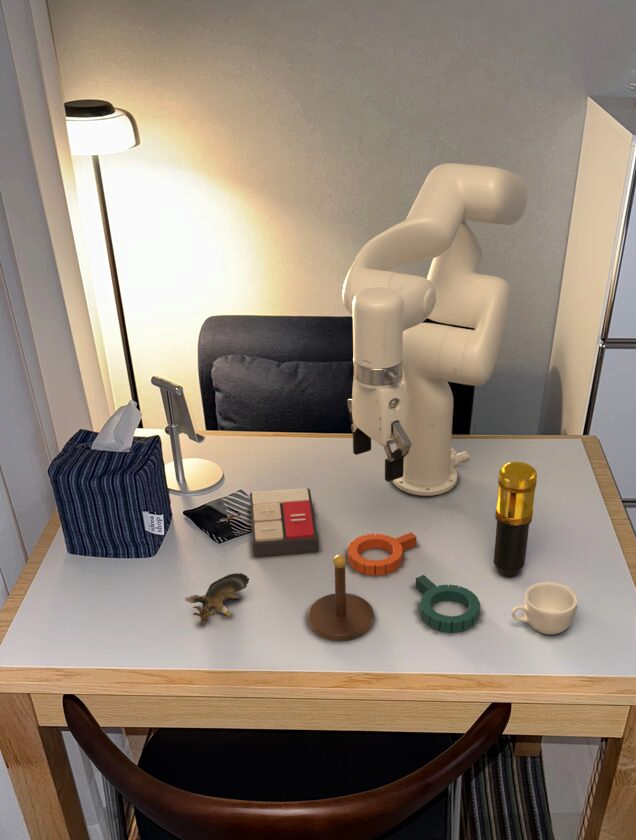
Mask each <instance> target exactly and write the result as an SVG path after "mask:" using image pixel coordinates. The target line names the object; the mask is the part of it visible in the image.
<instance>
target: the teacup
mask: <svg viewBox="0 0 636 840" xmlns="http://www.w3.org/2000/svg"><path fill="white" fill-rule="evenodd" d="M578 602H579V599H578V594H577V593H576V592H575V591H574V590H573V589H572V588H571V587H569V586H568V585H565V584H563V583H559V582H555V581H540V582H536V583H534V584H532V585H530V586H529V587H528V588H527V589H526V591H525V592H524V604H520V605H516V606H514V607H513V608H512V609H511V611H510V612H511V613H510V614H511V617H512V618H513V619H514V620H516V621H519V622H523V623H524V622H525V623H528V624H529V625H530V626H531V628H533V630H535V631H537V632H539V633H541V634H545V635H557V634H561V633H564V632H565V631H566V630H567V629H568V628H569V627H571V624H572V623H573V621H574V618H575V616H576V612H577V607H578ZM518 610H522V611H523V612H524V615H523V616H517V615H515V613H516V612H517V611H518Z"/></svg>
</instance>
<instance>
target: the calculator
mask: <svg viewBox="0 0 636 840" xmlns="http://www.w3.org/2000/svg"><path fill="white" fill-rule="evenodd" d="M249 503H250V504H249V506H250V518H251V519H250V521H251V537H252V551H253V557H255V558H259V557H260V558H261V557H272V556H284V555H294V554H296V555H297V554H306V553H307V554H308V553H316V552H318V551H319V547H318V546H319V545H318V543H319V541H318V539H319V538H318V532H317V525H316V519H315V512H314V507H313V501H312V494H311V488H308V487H307V488H305V487H302V488H291V489H280V490H279V489H277V490H264V491H253V492H249Z"/></svg>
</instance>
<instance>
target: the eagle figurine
mask: <svg viewBox="0 0 636 840" xmlns="http://www.w3.org/2000/svg"><path fill="white" fill-rule="evenodd" d="M249 582H250V578H249V577H248V575H245V574H244V573H243V572H235V573H230V574H228V575H227V574H226V575H225V576H222V577H221V578H219V579H217V580H215V581H214V582H212V583H211V584H209V587H208V588H207V591H206V593H205V594H204V595H198V594H192V595H189V596H186V597H184V601H185V602H187V603H189V604H197V603H201V604H202V607H201V606H199V605H195V606H192V608H193V609H196V610H197V611H198V612H192V614H193V616H197V617H199V618H200V626H203V625H204V624H205V623H206V622H207V621H208V620H209V617H211V616H215V615H216V614H217V612H219V613H222V614H223V615H226V616H227V617H228V618H230V617H231V614H230V610H229V609H228V608H227V607H226V606H225V605H224V604H223V602H224V601H225V600H226V601H227V600H234V599H235V600H236V599H240V595H239V594H238V593H237V592H240V591H242V590H245V589H246V588H247V587H248V584H249ZM211 610H212V611H211Z"/></svg>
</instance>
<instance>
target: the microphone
mask: <svg viewBox="0 0 636 840" xmlns="http://www.w3.org/2000/svg"><path fill="white" fill-rule="evenodd" d="M537 478H538V473H537V470H536V469H535V468H534V466H532V465H531V464H528V463H526V462H521V461H511V462H508V463H505V464H503V465H502V466H501V467H500V469H499V474H498V481H497V483H498V488H497V489H498V490H497V499H496V506H495V514H494V518H495V520H496V529H495V539H494V550H493V551H494V552H493V564H494V567H496V570H497V571H498V573H499V574H500V576H503V577H505V578H513V577H515V576H516V575H518V573H519V572H520V571H522V569H523V568H524V567H525V565H526V558H527V557H526V556H527V547H528V539H529V538H528V537H529V530H530V524H531V523H532V521H533V517H534V503H535V492H536V487H537Z"/></svg>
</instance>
